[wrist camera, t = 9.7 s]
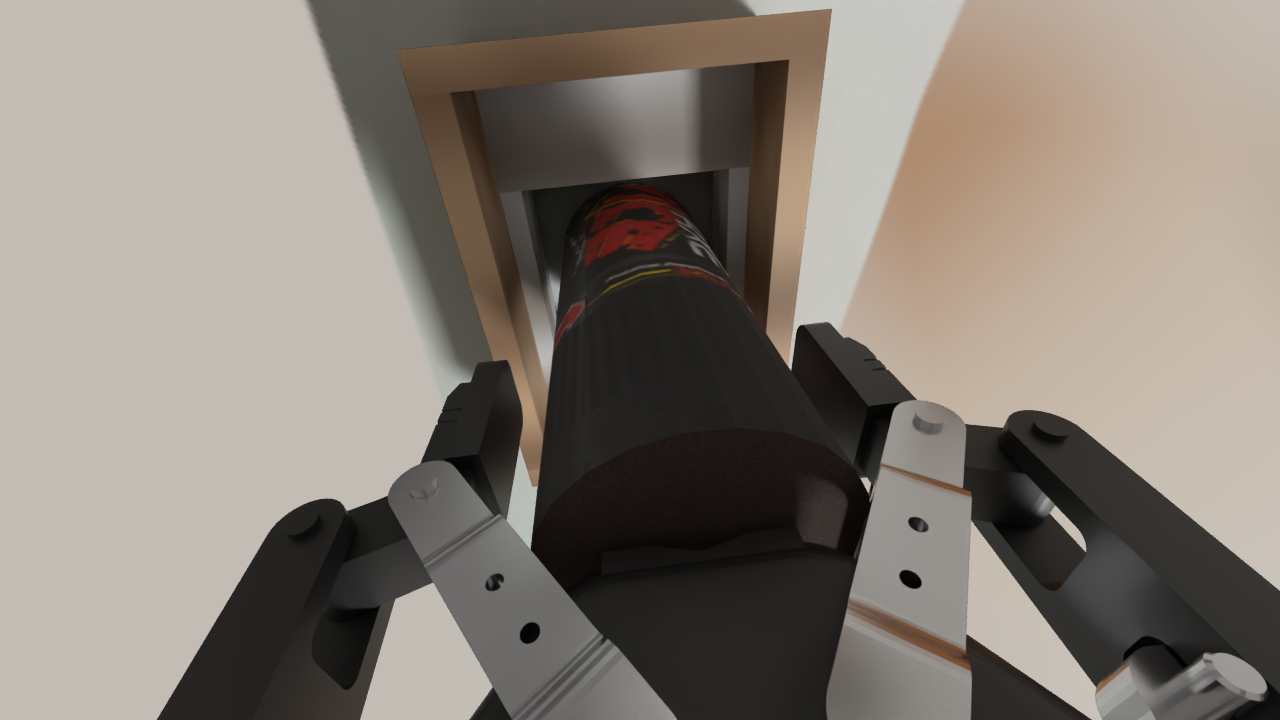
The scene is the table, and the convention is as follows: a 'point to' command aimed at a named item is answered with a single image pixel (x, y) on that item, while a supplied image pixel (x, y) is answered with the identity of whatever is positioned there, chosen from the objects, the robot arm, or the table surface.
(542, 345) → the light wooden box
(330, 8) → the table surface
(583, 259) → the deodorant
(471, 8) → the table surface
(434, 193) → the table surface
